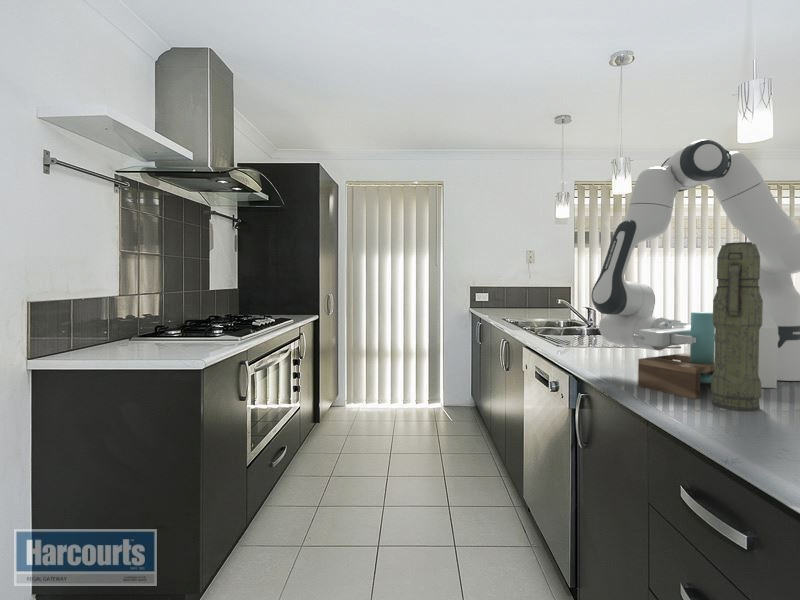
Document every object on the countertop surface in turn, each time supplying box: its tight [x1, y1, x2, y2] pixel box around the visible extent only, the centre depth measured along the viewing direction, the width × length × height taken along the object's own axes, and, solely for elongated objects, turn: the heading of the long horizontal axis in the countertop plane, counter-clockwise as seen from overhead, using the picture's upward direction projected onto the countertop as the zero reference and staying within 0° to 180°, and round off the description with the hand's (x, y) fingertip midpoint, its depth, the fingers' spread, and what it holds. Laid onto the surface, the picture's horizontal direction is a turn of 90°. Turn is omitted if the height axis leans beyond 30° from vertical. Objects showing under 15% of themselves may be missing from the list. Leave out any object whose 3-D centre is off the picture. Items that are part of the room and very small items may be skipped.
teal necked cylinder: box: [689, 311, 715, 384], centre depth 120 cm, size 6×6×16 cm
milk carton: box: [758, 311, 778, 389], centre depth 125 cm, size 7×7×19 cm
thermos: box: [710, 241, 763, 412], centre depth 106 cm, size 9×12×35 cm
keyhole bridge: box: [637, 352, 715, 400], centre depth 123 cm, size 18×15×7 cm
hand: (706, 339), depth 119 cm, fingers open, 7 cm apart
